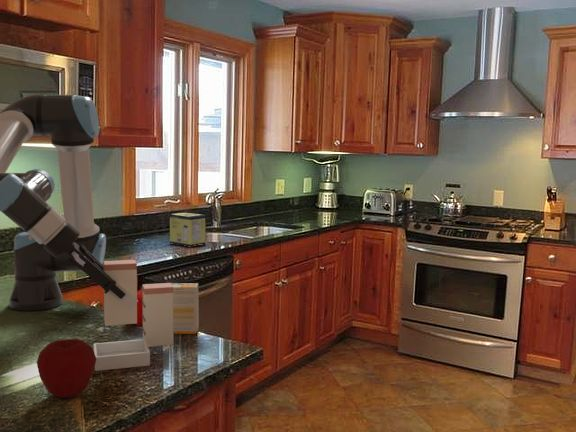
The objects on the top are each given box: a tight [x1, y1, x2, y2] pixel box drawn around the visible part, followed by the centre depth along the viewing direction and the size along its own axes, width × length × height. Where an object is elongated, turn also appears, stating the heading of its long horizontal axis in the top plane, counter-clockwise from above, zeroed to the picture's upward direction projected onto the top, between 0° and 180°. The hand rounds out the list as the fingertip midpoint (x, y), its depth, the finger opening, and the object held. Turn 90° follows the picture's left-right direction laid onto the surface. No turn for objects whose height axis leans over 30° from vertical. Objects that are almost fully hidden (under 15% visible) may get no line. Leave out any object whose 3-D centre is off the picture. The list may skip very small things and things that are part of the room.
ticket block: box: [141, 282, 174, 348], centre depth 147 cm, size 5×7×15 cm, turn 110°
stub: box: [103, 259, 138, 327], centre depth 133 cm, size 4×7×14 cm, turn 110°
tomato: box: [134, 286, 143, 327], centre depth 163 cm, size 11×13×10 cm
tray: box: [93, 338, 151, 372], centre depth 135 cm, size 10×12×3 cm
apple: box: [36, 338, 96, 399], centre depth 115 cm, size 11×11×12 cm
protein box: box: [169, 212, 206, 246], centre depth 292 cm, size 10×16×16 cm
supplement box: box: [170, 282, 200, 335], centre depth 156 cm, size 8×5×13 cm, turn 92°
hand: (132, 302), depth 134 cm, fingers closed on stub, 4 cm apart
